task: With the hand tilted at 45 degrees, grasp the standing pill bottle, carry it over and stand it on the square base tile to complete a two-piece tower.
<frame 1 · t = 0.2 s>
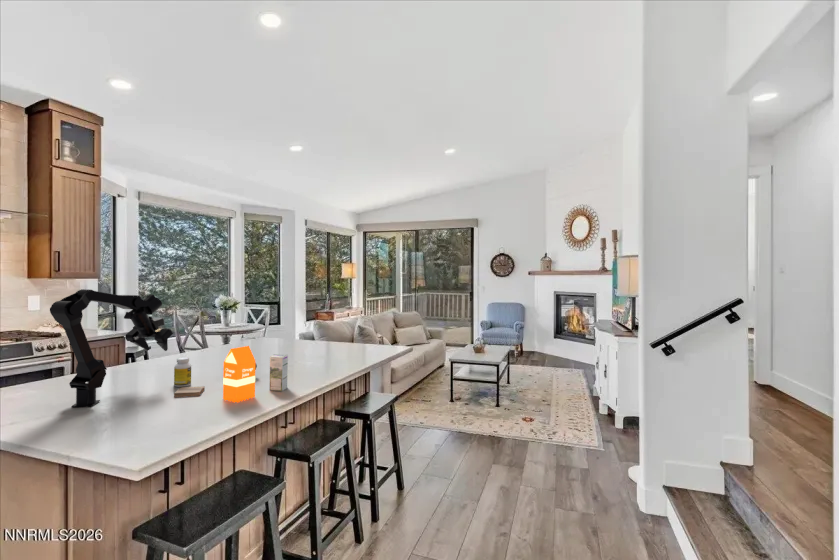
hand: (157, 350, 186), 15 cm above the countertop, tool tilted 30°, fingers open, 9 cm apart
syrup box: (278, 389, 182), on the countertop
base tile: (189, 393, 173), on the countertop
pill bottle: (182, 385, 185), on the countertop
vegetable: (240, 378, 200), on the countertop
orange juice: (239, 399, 168), on the countertop
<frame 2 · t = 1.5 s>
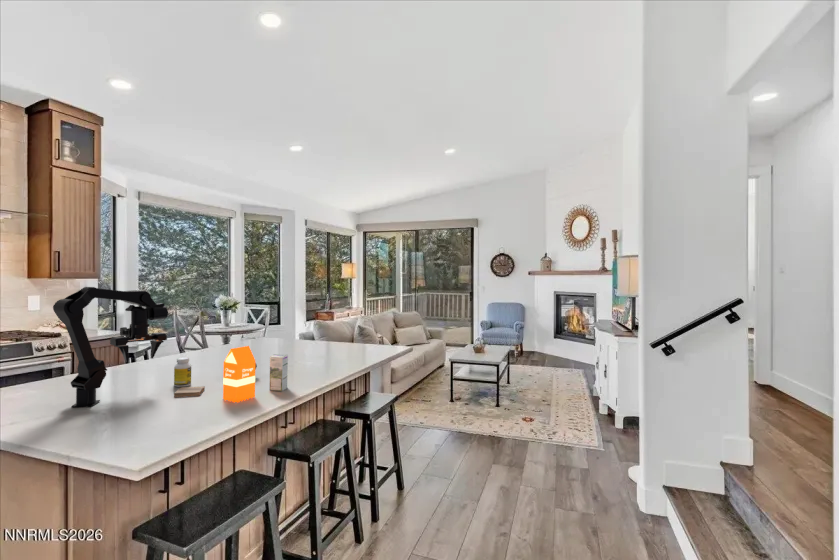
hand: (139, 360, 174), 13 cm above the countertop, tool pointing down, fingers open, 9 cm apart
nothing on the countertop moved.
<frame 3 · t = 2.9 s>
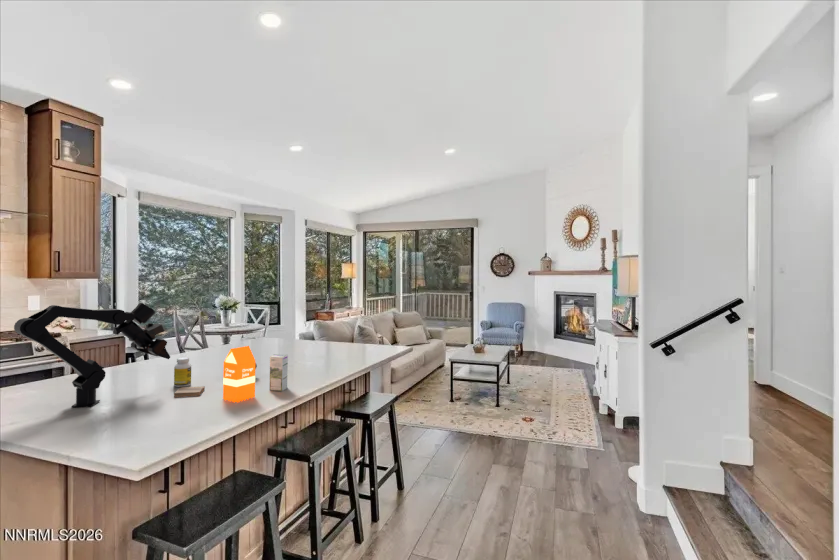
hand: (163, 356, 178), 13 cm above the countertop, tool tilted 45°, fingers open, 9 cm apart
nothing on the countertop moved.
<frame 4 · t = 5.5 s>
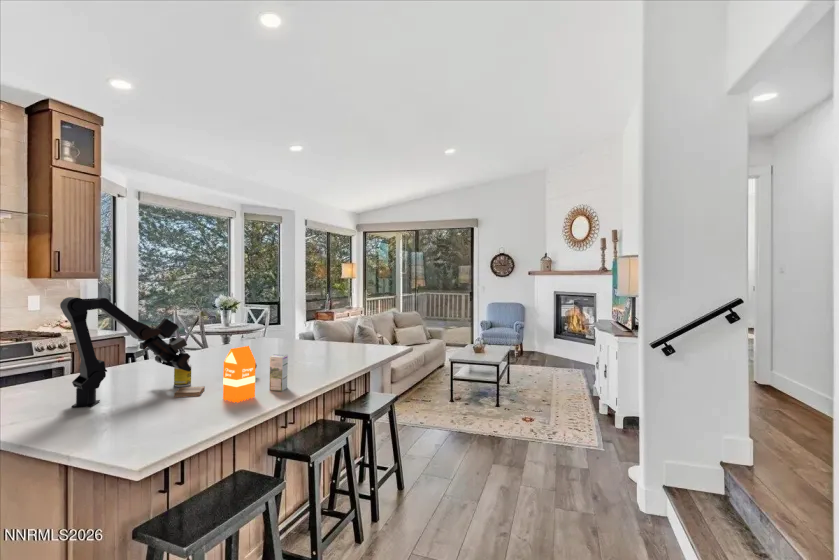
hand: (186, 369, 186), 7 cm above the countertop, tool tilted 45°, fingers closed on pill bottle, 6 cm apart
pill bottle: (182, 385, 185), on the countertop, touching gripper
everything else where it was.
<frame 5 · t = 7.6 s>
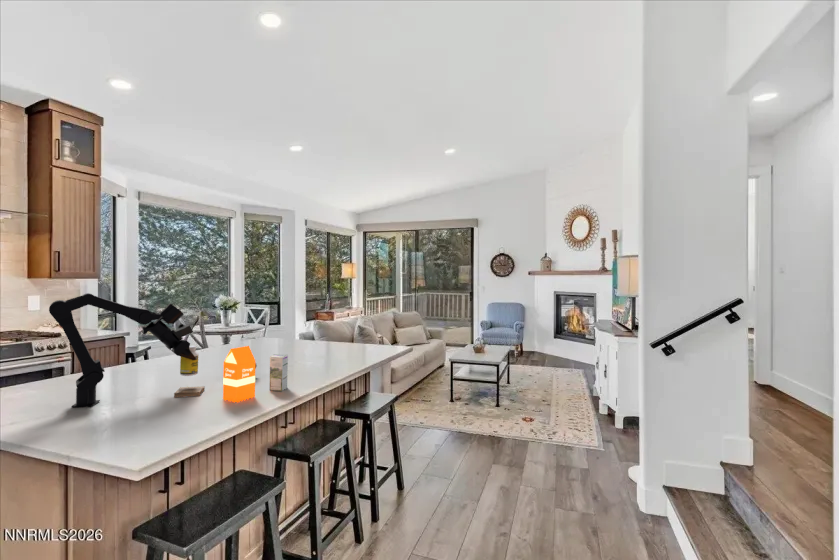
hand: (193, 358, 178), 13 cm above the countertop, tool tilted 45°, fingers closed on pill bottle, 6 cm apart
pill bottle: (189, 375, 178), point 6 cm above the countertop, touching gripper
everything else where it was.
when the fingers open (9 cm above the countertop, at t = 9.6 s): pill bottle stays where it is, resting on base tile.
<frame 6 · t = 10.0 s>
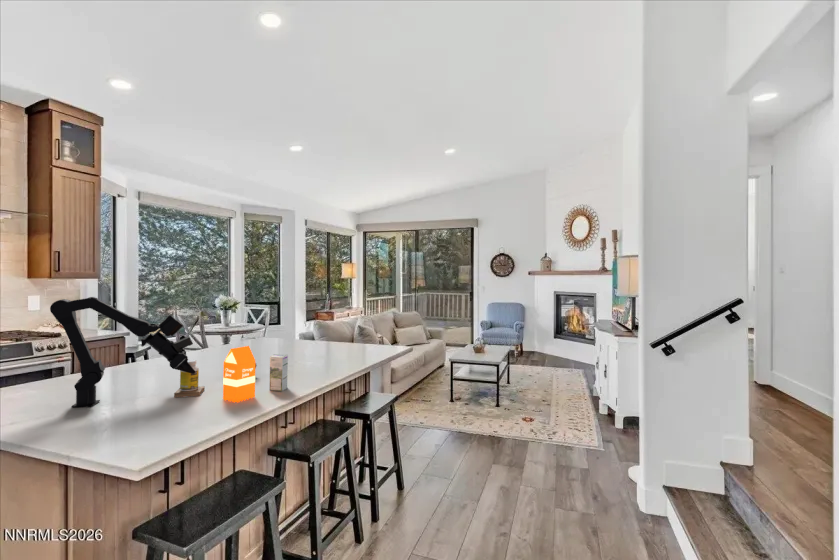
hand: (194, 370, 174), 9 cm above the countertop, tool tilted 45°, fingers open, 9 cm apart
pill bottle: (189, 390, 173), point 1 cm above the countertop, touching base tile
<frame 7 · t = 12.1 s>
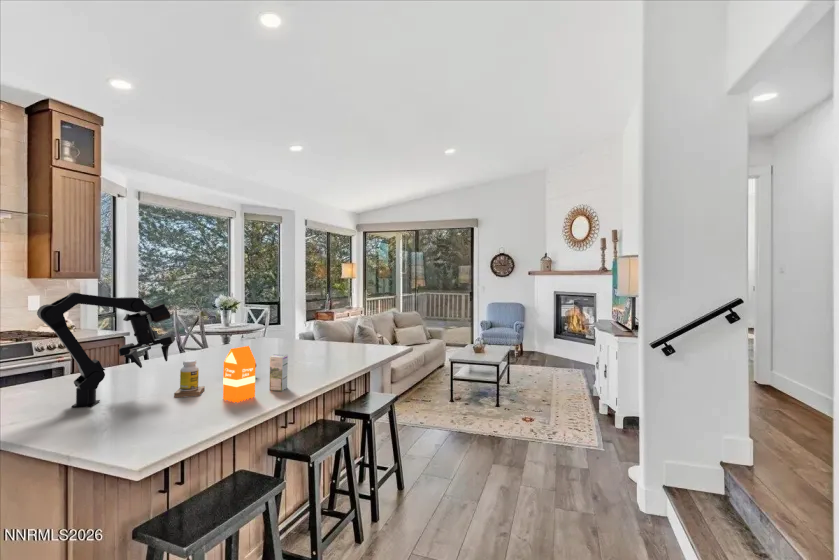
hand: (154, 364, 173), 12 cm above the countertop, tool tilted 15°, fingers open, 9 cm apart
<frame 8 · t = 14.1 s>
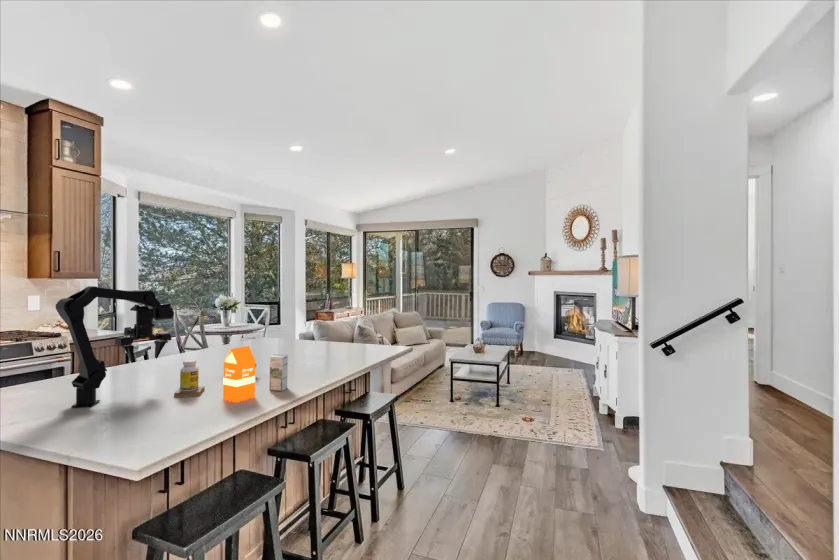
hand: (144, 360, 173), 13 cm above the countertop, tool pointing down, fingers open, 9 cm apart
at the end: pill bottle inside the target area on the base tile (0.2 cm from its centre), point 1.3 cm above the base tile's base; pill bottle tilted 0°; the gripper is holding nothing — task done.
